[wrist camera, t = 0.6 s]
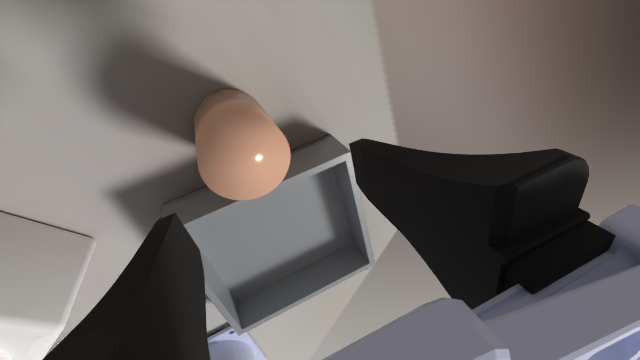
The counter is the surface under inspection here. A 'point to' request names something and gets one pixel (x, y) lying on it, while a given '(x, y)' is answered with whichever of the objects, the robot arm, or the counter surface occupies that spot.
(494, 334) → the robot arm
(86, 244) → the pale grey tall block
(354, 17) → the counter surface
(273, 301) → the bin
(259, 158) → the peach rounded cylinder
